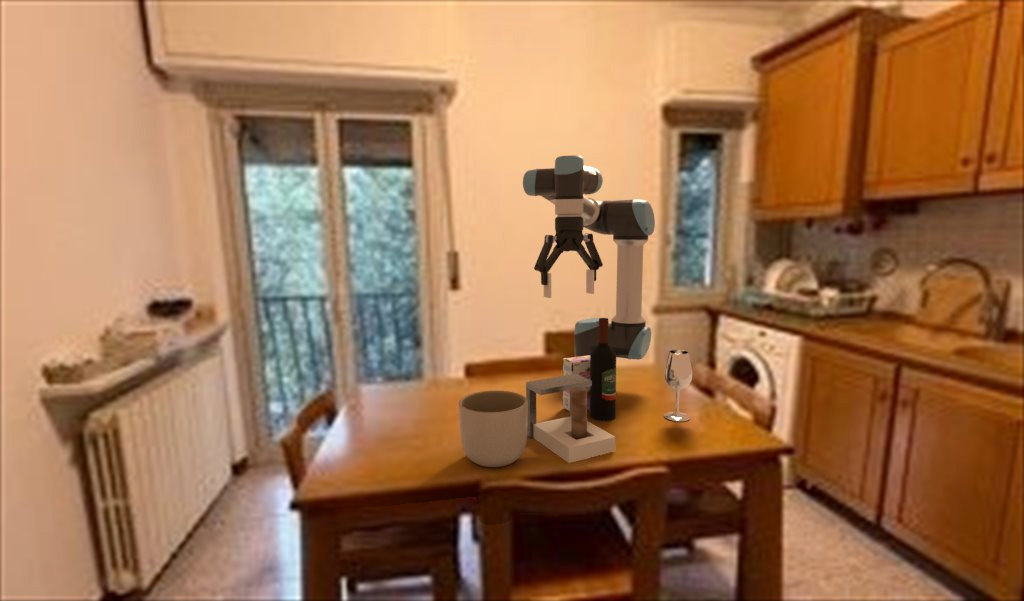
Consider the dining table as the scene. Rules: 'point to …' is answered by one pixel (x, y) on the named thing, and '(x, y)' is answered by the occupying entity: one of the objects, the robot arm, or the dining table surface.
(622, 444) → the dining table surface
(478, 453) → the planter
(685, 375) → the wineglass
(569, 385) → the gray arch stand
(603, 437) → the socket deck
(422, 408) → the dining table surface
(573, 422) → the peg
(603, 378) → the wine bottle
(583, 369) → the candy box
